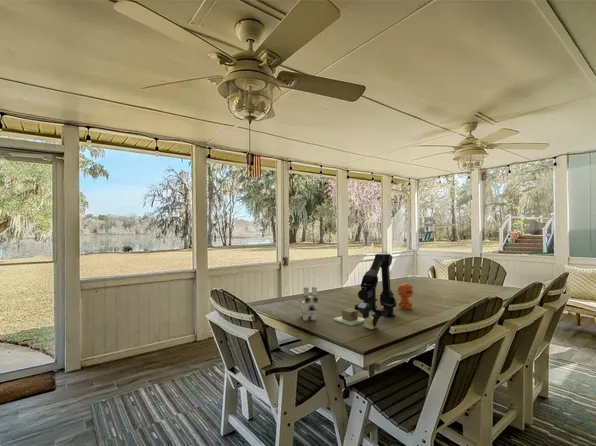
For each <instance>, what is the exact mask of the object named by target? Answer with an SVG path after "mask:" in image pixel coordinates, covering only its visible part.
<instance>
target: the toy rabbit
mask: <svg viewBox="0 0 596 446" xmlns="http://www.w3.org/2000/svg"><path fill="white" fill-rule="evenodd" d="M317 311H319V297H318V288H317V287H316V286H315V287H311V295H309V287H307V286H306V287H303V300H300V317H301V319H302V321H303V322H309V318H310V320H311V321H312V322H316V321H317Z"/></svg>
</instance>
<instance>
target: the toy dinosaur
mask: <svg viewBox="0 0 596 446" xmlns="http://www.w3.org/2000/svg"><path fill="white" fill-rule="evenodd" d="M396 290H397V295H398V296H400V301H399V302H397V305H398V308H400V309H401V310H406V311H408V310H410V309H413V302H410V300H409V298H411V297H412V295H413V293H414V290H413V286H412V284H410V283H408V282H404V283H401V284H400V285H399V286H398V287H397V289H396Z"/></svg>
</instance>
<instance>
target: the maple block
mask: <svg viewBox="0 0 596 446" xmlns="http://www.w3.org/2000/svg"><path fill="white" fill-rule="evenodd" d="M363 318H364V317H363ZM363 327H364V328H366V329H369V330H373V329H377V328H378V323H377V324H376V326H375V327H374V325H373V316H369V317H366V318H364V322H363Z"/></svg>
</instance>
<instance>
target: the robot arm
mask: <svg viewBox="0 0 596 446" xmlns="http://www.w3.org/2000/svg"><path fill="white" fill-rule="evenodd" d="M392 261H393V256H392V255H391V254H390V253H382V252H381V253H380V252H379V253H376V254H374V259H373V260H372V264H371V266H370V268H369V269H368V270H367V271H366V272H365V273H364V275H363V276H362V279H361V283H360V287H361V289H360V290H358V293H357V296H358V298H359V299H360V301H363V302H361V303H357V304H354V310H357V311H358V313H360V314H361V315H362V316H363V317H362V318H366V317H370V312H371V313H373V314H371V317H373V325H374V327H375V326H376V324H377V325H378V322H379V321H380V320H379V319H380V318H381V317H386V318H392V317H395V316H396V314H394V310H395V309H394V308H396V307H397V300H396V298H395V294H394V292H393V290H391V288H392V287H391V278H390V277H391V276H390V274H391V273H390V266H391V265H392V263H393V262H392ZM380 269H381V270H380ZM379 271H381V280H382V281H381V283H382V290H381V291H382V292H381V293H379V302H380V306H382V307H383V308H382V307H381V308H378V305H377V303H376V302H377V301H378V298H377V295H376V294H377V293H376V291H377V290H376V289H377V285H378V283H379V277H378V274H379Z"/></svg>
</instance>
